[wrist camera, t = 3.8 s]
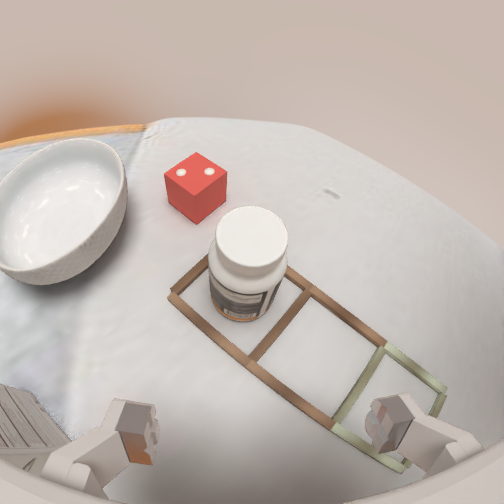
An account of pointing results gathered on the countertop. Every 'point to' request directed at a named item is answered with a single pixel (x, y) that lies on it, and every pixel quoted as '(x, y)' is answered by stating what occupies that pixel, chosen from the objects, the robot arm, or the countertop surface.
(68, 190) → the cereal bowl
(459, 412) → the countertop surface
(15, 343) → the countertop surface
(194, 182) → the red die
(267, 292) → the pill bottle
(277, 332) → the track frame
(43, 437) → the supplement box
